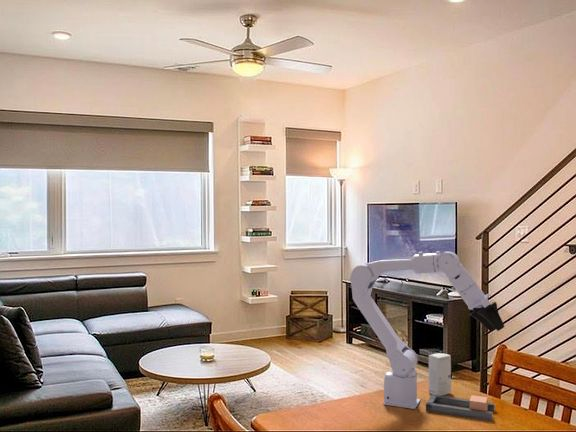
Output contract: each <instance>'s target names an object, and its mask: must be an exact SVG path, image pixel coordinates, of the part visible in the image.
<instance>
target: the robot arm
mask: <svg viewBox="0 0 576 432" xmlns="http://www.w3.org/2000/svg"><path fill="white" fill-rule="evenodd" d="M408 270H409V271H411V270H412V271H413V272H414V273H416V274H417V275H418V274H419V275H420V274H432V273H433V274H435V273H439V272H441V273H442V274H445V276H446V278H448V280H449V282H450V284H451V285H452V286H453V288H454V289H455V291H456V292H457V293H458V295H459V296H460V297H461V299H462V300H463V302H464V304H466V306H467V308H468V310H471V311H472V312H470V313H469V316H470V317H472V318H474V319H475V320H477V321H478V322H479V323H480V324H481V325H482V326H484V328H486V330H488V331H489V332H492V331H493V330H496V331H498V332H500V331H501V330H502V329H504V328H505V325H504V322H503V319H502V318H501V315H500V313H499V309H498V304H497V302H496V301H493V302H492V303H491V301H489V299H488V298H489V297H491V294H490V293H486V294H485V293H484V292H483V290H482V289H481V288H480V286H479V285H478V284H477V282H476V281H475V280H474V278H473V277H472V275H471V274H470V273H469V271H468V270H467V269H466V268H465V267H464V265H463V264H462V263H461V262H460V258H459V255H457V254H456V253H455V252H453V251H448V250H445V251H444V252H442V253H441V251H440V250H438V251H435V252H432V253H431V252H428V253H424V251H418V253H416V254H414V255H413V256H412V257H411V258H406V259H405V258H401V259H398V258H397V259H381V260H376V261H375V260H374V261H372V262H365V263H363V264H360V265H357V266H355V267H354V268H353V269H352V271H351V274H350V277H349V282H350V283H351V294H352V295H351V296H352V300H353V302H354V304H355V305H356V306H357V308H358V310H359V311H360V313H361V314H362V315H363V318H364V319H365V320H366V322H367V323H368V325H369V326H370V327H371V329H372V330H373V332H374V333H375V335H376V336H377V338H378V339H379V341H380V342H381V344H382V346H383V348H385V352H386V358H388V360H389V362H390V368H391V370H392V371H386V373H385V374H384V379H383V405H384V406H385V405H386V406H393V407H398V408H404V409H405V408H406V409H410V410H416V408H417V407H418V406H419V403H420V402H421V398H418V397H417V396H418V373H417V370H416V369H415V367H416V366H417V365H418V361H419V359H418V358H419V357H418V354H417V353H416V352H415V350H413V348H410V347H409V346H408V345H407V343H406V342H405V341H403V340H402V339H400V337H399V336H398V334H397V332H396V331H395V330H394V328H393V327H392V325H391V324H390V323H389V321H388V320H387V318H386V316H385V315H384V313H382V310H381V309H380V308H379V306H378V305H377V303H376V302H375V300H374V299H373V297H372V290H373V288H374V285H375V283H376V282H377V280H378V278H379V276H382V275H383V274H385V273H387V272H388V273H389V272H396V271H397V272H398V271H408Z"/></svg>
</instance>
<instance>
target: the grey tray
mask: <svg viewBox="0 0 576 432" xmlns="http://www.w3.org/2000/svg"><path fill="white" fill-rule="evenodd" d="M469 401H470V399H466V398H459V397H454V396H446V395H441V396H439V395H433V394H431V395H430V397H429V398H428V399H427V401H426V403H425V411H426V412H431V413H437V414H442V415H443V414H445V415H449V416H450V415H451V416H458V417H463V418H464V417H465V418H469V419H477V420H483V421H490V422H493V417H494V416H493V415H494V414H493V413H494V412H495V411H496V410H495V409H496V403H494V402H490V401H489V402H488V411H483V410H476V409H469Z"/></svg>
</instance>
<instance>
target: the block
mask: <svg viewBox="0 0 576 432" xmlns="http://www.w3.org/2000/svg"><path fill="white" fill-rule="evenodd" d="M488 399H489V398H488V396H483V395H480V396H479V395H473V394H471V396H470V399H469V400H470V401H469V409H476V410H483V411H488Z"/></svg>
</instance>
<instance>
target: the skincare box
mask: <svg viewBox="0 0 576 432" xmlns="http://www.w3.org/2000/svg"><path fill="white" fill-rule="evenodd" d="M451 360H452V357H451V354H447V353H443V352H437V353H433V354H428V394H431V395H439V396H446V395H449V394H451V393H452V381H451V380H452V361H451Z"/></svg>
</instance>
